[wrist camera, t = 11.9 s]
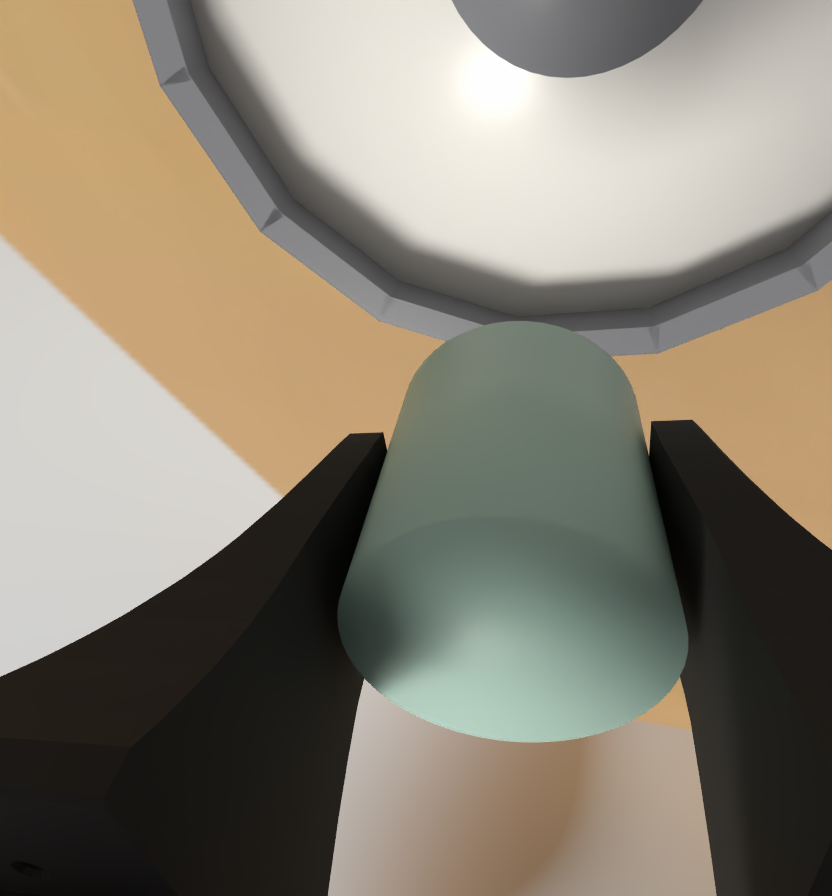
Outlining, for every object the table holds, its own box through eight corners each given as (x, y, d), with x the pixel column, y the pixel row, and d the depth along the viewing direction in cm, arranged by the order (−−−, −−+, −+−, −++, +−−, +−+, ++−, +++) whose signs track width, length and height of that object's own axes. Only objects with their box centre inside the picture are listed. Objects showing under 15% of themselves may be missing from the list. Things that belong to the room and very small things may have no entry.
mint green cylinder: (643, 310, 11) (705, 512, 7) (634, 514, 13) (675, 751, 9) (383, 331, 12) (299, 518, 8) (421, 517, 14) (372, 733, 10)
